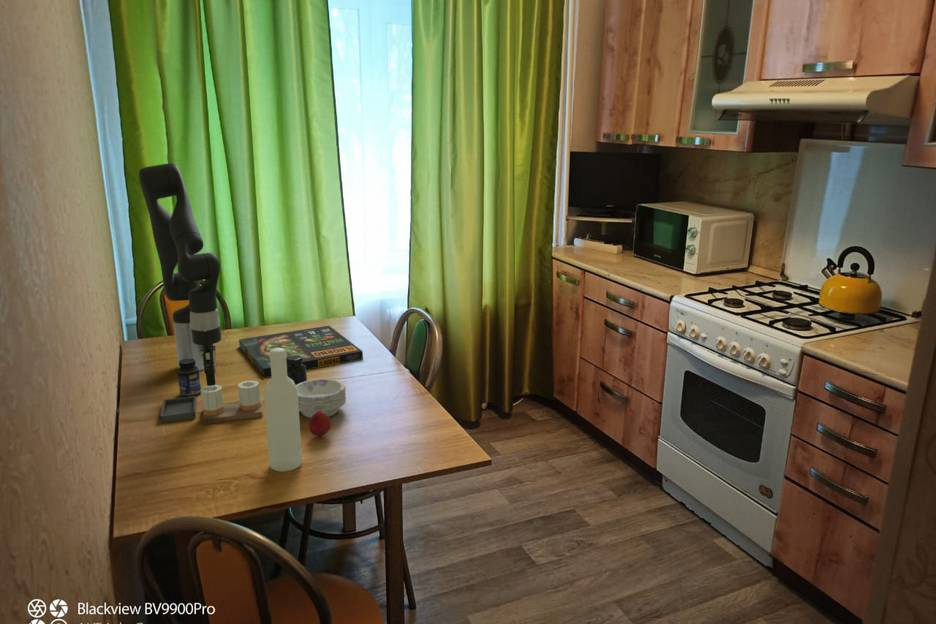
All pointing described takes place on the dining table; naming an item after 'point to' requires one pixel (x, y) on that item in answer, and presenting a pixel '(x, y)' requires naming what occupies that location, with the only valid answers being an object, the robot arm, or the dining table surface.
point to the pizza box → (302, 348)
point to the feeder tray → (178, 409)
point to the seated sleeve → (249, 395)
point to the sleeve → (212, 400)
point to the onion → (319, 424)
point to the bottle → (282, 416)
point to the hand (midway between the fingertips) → (211, 379)
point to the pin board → (231, 414)
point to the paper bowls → (320, 396)
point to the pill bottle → (188, 378)
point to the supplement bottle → (296, 369)
